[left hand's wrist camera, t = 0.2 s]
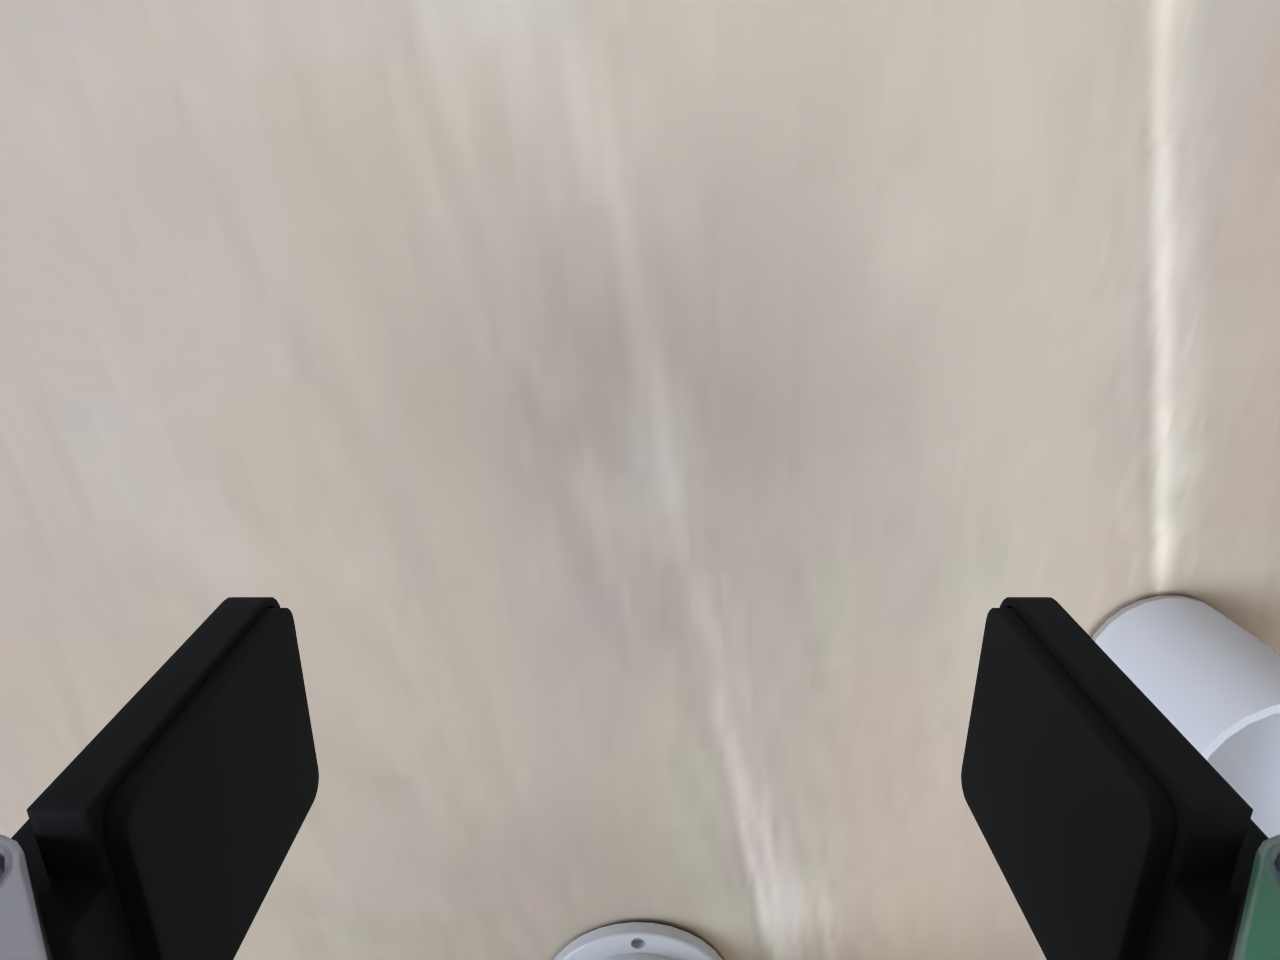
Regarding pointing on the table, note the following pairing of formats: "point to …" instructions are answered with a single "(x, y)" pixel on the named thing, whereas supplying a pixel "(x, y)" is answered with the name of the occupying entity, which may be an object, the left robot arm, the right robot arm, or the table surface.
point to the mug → (1207, 689)
